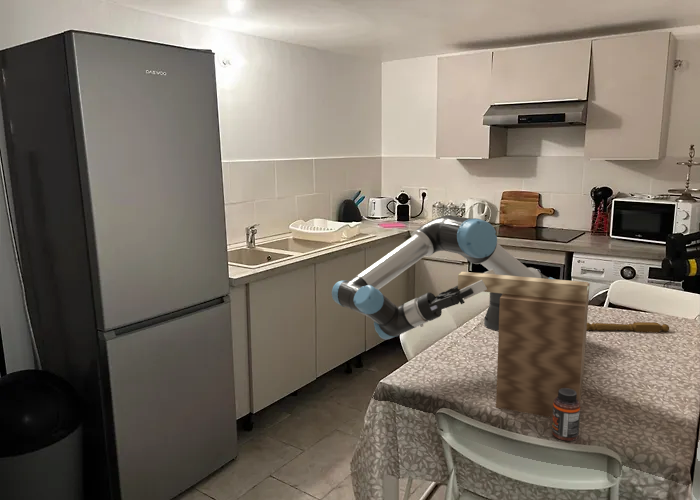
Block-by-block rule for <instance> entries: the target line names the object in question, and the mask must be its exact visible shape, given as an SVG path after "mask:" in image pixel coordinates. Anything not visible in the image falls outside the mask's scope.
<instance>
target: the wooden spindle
mask: <svg viewBox="0 0 700 500" xmlns="http://www.w3.org/2000/svg"><path fill="white" fill-rule="evenodd" d="M591 330H592V331H597V332H600V331H601V332H602V331H603V332H604V331H607V332H608V331H613V332H614V331H630V332H632V331H633V332H635V333H656V332H657V333H656V334H658V333H660V332H661V331H662V332H664V333H666V332H669V331H670V325H668V324H666V323H663V324H660V323H659V322H652V321H651V322H649V321H648V322H644V321H641V322H640V321H635V322H634V321H633V322H632V323H628V324H624V323H621V324H620V323H609V322H608V323H607V322H605V323H603V322H592V323H589V322H587V331H591Z"/></svg>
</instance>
